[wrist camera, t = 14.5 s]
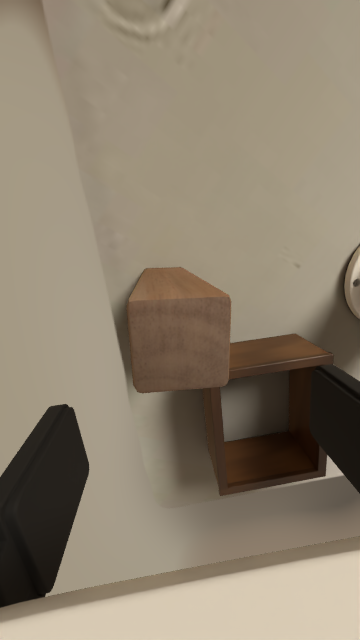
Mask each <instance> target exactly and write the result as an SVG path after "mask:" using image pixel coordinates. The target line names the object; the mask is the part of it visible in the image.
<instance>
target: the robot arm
mask: <svg viewBox="0 0 360 640" xmlns="http://www.w3.org/2000/svg"><path fill="white" fill-rule="evenodd" d="M344 288H345V297H346V301H347V304H348V306H349V308H350V310H351V311H352V312H353V314H354V315H355V316H356V317H357V318H359V319H360V246H359V248H358V249H357V250H356V252H355V253H354V255H353V257H352V259H351V261H350V263H349V265H348V269H347V272H346V275H345V284H344ZM309 429H310V432H311V435H312V436H313V438H314V439H315V440H316V441H317V443H318V444H319V445H320V446H321V447H322V449H323V450H324V451H325V452H326V453H327V455H328V456H329V457H330V458H331V459H332V461H333V462H334V463H335V464H336V465H337V467H338V468H339V469H340V470H341V471H342V473H343V474H344V475H345V476H346V478H347V479H348V480H349V481H350V482H351V484H352V485H353V486H354V487H355V488H356V489H357V491H358V492H359V493H360V381H358V380H356V379H355V378H353V377H352V376H350V375H349V374H347V373H346V372H344V371H343V370H341V369H340V368H338V367H336V366H335V365H333V364H329V365H322V366H317V367H316V368H315V370H314V371H312V373H311V394H310V420H309ZM88 474H89V462H88V459H87V455H86V451H85V448H84V444H83V441H82V437H81V434H80V430H79V426H78V423H77V419H76V416H75V412H74V409H73V408H72V407H69V406H68V405H67V404H63V405H56V406H51V407H49V408H48V409H47V411H46V412H45V414H44V415H43V417H42V418H41V419H40V421H39V422H38V424H37V425H36V427H35V428H34V429H33V431H32V432H31V434H30V435H29V437H28V438H27V439H26V441H25V443H24V444H23V445H22V447H21V448H20V450H19V451H18V452H17V454H16V455H15V457H14V458H13V460H12V461H11V462H10V464H9V465H8V467H7V468H6V470H5V471H4V473H3V474H2V475H1V477H0V640H360V536H358V537H353V538H347V539H341V540H336V541H330V542H325V543H319V544H314V545H308V546H303V547H298V548H292V549H287V550H282V551H276V552H271V553H266V554H260V555H255V556H250V557H244V558H239V559H234V560H229V561H223V562H218V563H213V564H208V565H202V566H197V567H192V568H186V569H181V570H176V571H171V572H166V573H161V574H156V575H151V576H145V577H140V578H136V579H131V580H125V581H120V582H115V583H110V584H105V585H100V586H94V587H89V588H85V589H80V590H75V591H71V592H66V593H62V594H57V595H52V596H48V597H45V595H46V593H49V592H50V591H51V590H52V588H53V586H54V583H55V580H56V577H57V573H58V570H59V567H60V564H61V561H62V557H63V554H64V551H65V548H66V544H67V541H68V538H69V535H70V532H71V528H72V525H73V522H74V519H75V516H76V512H77V509H78V506H79V503H80V500H81V496H82V493H83V490H84V487H85V483H86V480H87V477H88Z"/></svg>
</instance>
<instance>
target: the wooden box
mask: <svg viewBox="0 0 360 640" xmlns="http://www.w3.org/2000/svg"><path fill="white" fill-rule="evenodd" d="M333 356H334V355H333V354H332V353H330V352H326V351H324V350H323V349H321V348H319V347H317V346H316V345H314V344H312V343H311V342H309V341H307V340H305V339H304V338H302V337H300V336H299V335H297V334H289V335H283V336H276V337H269V338H263V339H256V340H249V341H243V342H236V343H230V357H229V379H236V378H242V377H248V376H254V375H261V374H267V373H273V372H280V371H286V370H289V431H286V432H280V433H274V434H269V435H263V436H257V437H252V438H246V439H240V440H235V441H229V442H224V434H223V421H222V409H221V396H220V387H212V388H202V393H203V403H204V412H205V422H206V432H207V441H208V450H209V454H210V457H211V461H212V465H213V468H214V472H215V476H216V479H217V483H218V488H219V494H220V496H223V495H228V494H234V493H239V492H244V491H249V490H255V489H260V488H265V487H271V486H276V485H281V484H286V483H292V482H297V481H302V480H307V479H313V478H318V477H323V476H326V462H327V453H326V452H325V451H324V450H323V449H322V447H321V446H320V445H319V444H318V443H317V441H316V440H315V439H314V438H313V436H312V435H311V432H310V429H309V420H310V394H311V373H312V371H314V370H315V368H316V367H317V366H322V365H329V364H333ZM229 379H228V380H229Z"/></svg>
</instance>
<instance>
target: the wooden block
mask: <svg viewBox="0 0 360 640" xmlns="http://www.w3.org/2000/svg"><path fill="white" fill-rule="evenodd" d="M126 308H127V319H128V330H129V342H130V353H131V364H132V376H133V385H134V387H135V389H136V390H137V392H140V393H150V392H162V391H175V390H187V389H200V388H212V387H223V386H225V385H227V382H228V379H229V357H230V324H231V300H230V297H229V295H228V294H226V293H224V292H223V291H221V290H219V289H217V288H216V287H214V286H212V285H211V284H209V283H207V282H206V281H204V280H202V279H200V278H199V277H197V276H195V275H194V274H192V273H190V272H189V271H187V270H185V269H183V268H181V267H176V268H147V269H145V270H144V271H143V273H142V275H141V277H140V279H139V281H138V283H137V285H136V286H135V288H134V290H133V292H132V294H131V296H130V298H129V300H128V303H127V306H126Z"/></svg>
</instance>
